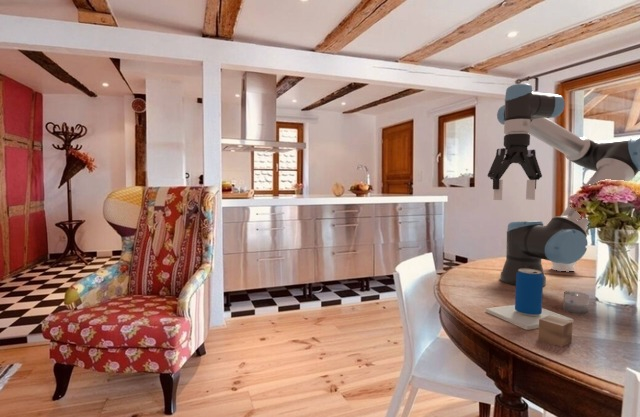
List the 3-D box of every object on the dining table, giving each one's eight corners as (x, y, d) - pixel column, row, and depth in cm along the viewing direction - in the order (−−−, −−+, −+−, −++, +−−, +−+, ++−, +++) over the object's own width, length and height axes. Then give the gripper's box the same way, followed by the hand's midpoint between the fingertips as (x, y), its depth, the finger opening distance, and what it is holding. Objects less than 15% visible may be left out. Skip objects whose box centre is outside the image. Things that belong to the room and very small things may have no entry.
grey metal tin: (573, 306, 112) (574, 290, 112) (593, 313, 107) (594, 296, 106) (558, 308, 111) (559, 292, 110) (577, 315, 105) (578, 298, 104)
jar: (577, 269, 162) (579, 235, 161) (578, 274, 153) (580, 238, 152) (548, 266, 168) (550, 233, 167) (548, 270, 159) (549, 236, 158)
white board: (528, 306, 112) (528, 303, 112) (573, 322, 99) (573, 319, 99) (485, 311, 107) (485, 308, 107) (526, 329, 94) (526, 326, 94)
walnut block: (548, 335, 91) (549, 315, 91) (571, 342, 87) (572, 321, 87) (538, 339, 88) (539, 319, 88) (561, 347, 84) (562, 325, 84)
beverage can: (541, 319, 99) (543, 274, 98) (513, 314, 102) (515, 271, 101) (541, 312, 104) (543, 270, 103) (515, 308, 107) (517, 267, 107)
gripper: (494, 130, 113) (492, 200, 114) (556, 134, 121) (553, 199, 122) (477, 133, 120) (474, 199, 121) (536, 137, 128) (533, 198, 129)
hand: (514, 199), depth 122 cm, fingers open, 13 cm apart
